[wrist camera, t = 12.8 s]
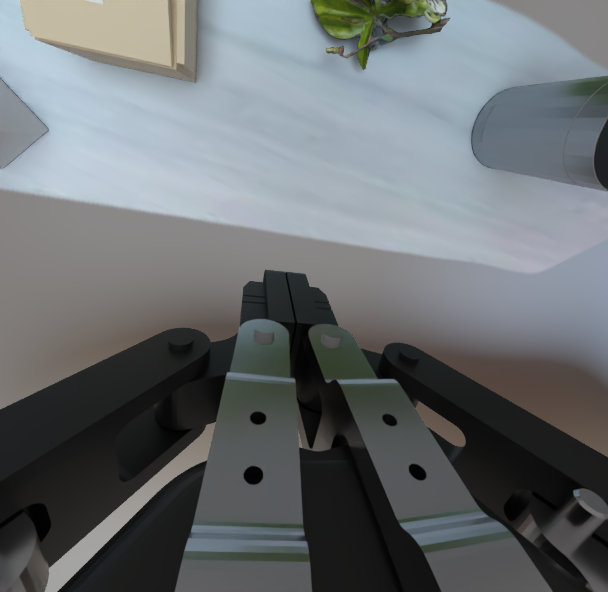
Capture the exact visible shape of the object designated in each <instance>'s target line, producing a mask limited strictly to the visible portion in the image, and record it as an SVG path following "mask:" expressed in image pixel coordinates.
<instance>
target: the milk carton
mask: <svg viewBox="0 0 608 592" xmlns="http://www.w3.org/2000/svg"><path fill="white" fill-rule="evenodd" d="M47 131H48V129H47V128H46V127H45V125H44V124H43V123H42V122H41V121H40V120H39V119H38V118H37V117H36V116H35V115H34V114H33V113H32V112H31V111H30V109H29V108H28V107H27V106H26V105H25V104H24V103H23V102H22V101H21V100H20V99H19V98H18V97H17V96H16V95H15V94H14V93H13V91H12V90H11V89H10V88H9V87H8V86H7V85H6V84H5V83H4V82H3V81H2V80H1V79H0V169H2V168H4V167H5V166H6V165H8V164H9V163H10V162H11V161H12V160H14V159H15V158H16V157H17V156H18V155H20V154H21V153H22V152H23V151H24V150H25V149H27V148H28V147H29V146H30V145H31V144H33V143H34V142H35V141H36V140H37V139H39V138H40V137H41V136H42V135H43V134H45V133H46V132H47Z"/></svg>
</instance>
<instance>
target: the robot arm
mask: <svg viewBox="0 0 608 592" xmlns="http://www.w3.org/2000/svg"><path fill="white" fill-rule="evenodd" d="M472 146H473V151H474V154H475V156H476V157H477V159H478V160H479V161H480V162H481V163H482V164H483V165H485V166H487V167H490V168H495V169H499V170H504V171H509V172H513V173H518V174H523V175H528V176H533V177H538V178H543V179H547V180H552V181H557V182H562V183H567V184H572V185H577V186H582V187H588V188H593V189H598V190H603V191H608V76H603V77H594V78H586V79H578V80H570V81H562V82H554V83H546V84H536V85H528V86H520V87H513V88H509V89H506V90H504V91H502V92H500V93H498V94H497V95H496V96H494V97H493V98H492V99H491V100H490V101H489V102H488V103H487V104H486V105H485V106H484V108H483V109H482V111H481V112H480V114H479V116H478V118H477V120H476V122H475V125H474V129H473V135H472ZM418 401H420V402H421V403H423V404H424V405H426V406H428V407H429V408H430V409H432V410H433V411H435V412H436V413H438V414H439V415H441V416H442V417H444V418H445V419H447V420H448V421H450V422H451V423H453V424H454V425H456V426H457V427H458V428H459V429H460V430H461V431H462V432H463V434H464V436H465V439H466V444H465V446H463V447H458V446H454V445H452V444H451V443H449V442H448V441H446V440H445V439H444V438H442V437H441V436H440V435H438V434H437V433H435V432H434V431H432V430H431V429H430V428H428V427H427V426H426V424H425V423H424V421H423V420H422V418H421V417H420V415H419V413H418V412H417V410H416V409H415V408H416V406H417V404H418ZM214 422H216V424H215V428H214V433H213V437H212V442H211V446H210V451H209V455H208V459H207V461H205V462H202V463H200V464H198V465H196V466H194V467H191V468H190V469H188V470H186V471H185V472H183V473H181V474H180V475H178V476H177V477H175V478H174V479H173V480H172V481H170V482H169V483H168V484H166V485H165V486H164V487H163V488H162V489H161V490H160V491H159V492H157V493H156V495H154V496H153V497H152V498H151V499H150V500H149V501H148V502H147V503H146V504H145V505H144V506H143V508H141V509H140V510H139V511H138V512H137V513H136V514H135V515H134V516H133V517H132V518H131V519H130V520H129V521H128V522H127V523H126V524H125V525H124V526H123V527H122V528H121V529H120V530H119V531H118V532H117V533H116V534H115V535H114V536H113V537H112V538H111V539H110V540H109V541H108V542H107V543H106V544H105V545H104V546H103V547H102V548H101V549H100V550H99V551H98V552H97V553H96V554H95V555H94V556H93V557H92V558H91V559H90V560H89V561H88V562H87V563H86V564H85V565H84V566H83V567H82V568H81V569H80V570H79V571H78V572H77V573H76V574H75V575H74V576H73V577H72V578H71V579H70V580H69V581H68V582H67V583H66V584H65V585H64V586H63V587H62V588H61V589H60V590H59V591H58V592H608V457H606V456H604V455H603V454H601V453H599V452H597V451H596V450H594V449H592V448H590V447H589V446H587V445H585V444H583V443H581V442H580V441H578V440H576V439H575V438H573V437H571V436H570V435H568V434H566V433H564V432H562V431H561V430H559V429H557V428H556V427H554V426H552V425H550V424H549V423H547V422H545V421H543V420H542V419H540V418H538V417H536V416H535V415H533V414H531V413H529V412H528V411H526V410H524V409H522V408H521V407H519V406H517V405H515V404H514V403H512V402H510V401H509V400H507V399H505V398H503V397H502V396H500V395H498V394H496V393H495V392H493V391H491V390H489V389H488V388H486V387H484V386H482V385H481V384H479V383H477V382H475V381H474V380H472V379H470V378H468V377H467V376H465V375H463V374H461V373H459V372H458V371H456V370H454V369H453V368H451V367H449V366H448V365H446V364H444V363H442V362H441V361H439V360H437V359H435V358H434V357H432V356H430V355H428V354H427V353H425V352H423V351H421V350H419V349H418V348H416V347H413V346H411V345H408V344H404V343H391V344H388V345H387V346H385V348H384V351H383V354H379V353H375V352H371V351H367V350H364V349H361V348H360V347H359V345H358V344H357V342H356V340H355V338H354V337H353V335H352V334H351V333H350V332H348V331H347V330H345V329H343V328H341V327H339V326H338V324H337V321H336V319H335V317H334V314H333V311H332V310H331V306H330V304H329V301H328V299H327V297H326V295H325V294H324V293H323V292H322V291H321V290H320V289H319V288H315V287H310V286H309V283H308V280H307V277H306V275H305V274H301V273H292V272H286V273H285V272H282V271H273V270H265V272H264V279H263V282H253V281H250V282H248V283H247V284H246V285H245V286H244V288H243V298H242V308H241V319H240V328H239V331H238V333H237V334H236V335H235V336H233V337H231V338H229V339H226V340H223V341H217V342H210V339H209V338H208V337H207V335H205V334H204V333H203V332H201V331H198V330H195V329H191V328H175V329H170V330H166V331H164V332H162V333H159V334H157V335H155V336H153V337H151V338H149V339H147V340H145V341H143V342H141V343H138V344H136V345H134V346H132V347H130V348H128V349H126V350H124V351H122V352H120V353H118V354H115V355H113V356H111V357H109V358H108V359H105V360H103V361H101V362H99V363H97V364H95V365H93V366H90V367H88V368H86V369H84V370H82V371H80V372H78V373H76V374H74V375H72V376H70V377H68V378H65V379H63V380H61V381H59V382H57V383H55V384H53V385H51V386H49V387H47V388H44V389H42V390H40V391H38V392H36V393H34V394H32V395H30V396H28V397H26V398H24V399H21V400H19V401H17V402H16V403H13V404H11V405H9V406H7V407H5V408H3V409H1V410H0V592H44V591H45V588H46V586H47V582H48V576H49V567H51V566H52V565H53V564H54V563H55V562H56V561H58V560H59V559H60V558H61V557H62V556H63V555H64V554H65V553H67V552H68V551H69V550H70V549H71V548H72V547H74V546H75V545H76V544H77V543H78V542H79V541H80V540H81V539H83V538H84V537H85V536H86V535H87V534H88V533H89V532H91V531H92V530H93V529H94V528H95V527H96V526H97V525H99V524H100V523H101V522H102V521H103V520H104V519H105V518H107V517H108V516H109V515H110V514H111V513H112V512H113V511H114V510H116V509H117V508H118V507H119V506H120V505H121V504H123V503H124V502H125V501H126V500H127V499H128V498H129V497H130V496H132V495H133V494H134V493H135V492H136V491H137V490H138V489H140V488H141V487H142V486H143V485H144V484H145V483H146V482H148V481H149V480H150V479H151V478H152V477H153V476H154V475H156V474H157V473H158V472H159V471H160V470H161V469H162V468H163V467H165V466H166V465H167V464H168V463H169V462H170V461H171V460H173V459H174V458H175V457H176V456H177V455H178V454H179V453H181V452H182V451H183V450H184V449H185V448H186V447H187V446H189V444H191V443H192V442H193V441H194V440H195V439H196V438H198V437H199V436H200V435H201V434H202V432H203V431H204V429H205V427H206V425H207V424H211V423H214ZM298 430H299V434H300V439H301V443H302V447H303V448H299V437H298Z"/></svg>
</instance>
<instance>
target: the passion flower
mask: <svg viewBox="0 0 608 592" xmlns="http://www.w3.org/2000/svg"><path fill="white" fill-rule="evenodd" d="M311 4H312V5H313V8H314V11H315V15H316V17H317V19H318V20H319V21H320V23H321V24H322V26H323V27H324V28H325V30H326V31H327V32H328V34H329V35H331V36H333V37H335V38H339V39H349V38H352V37H357V36H360V37H361V38H360V40H359V42H358V50H357V51H354V52H352V53H350V54H349V55H347V56H343V52H344V46H342V47H339V48H338V47H337V48H334V47H331V48H326V52H327V53H333V54H339V55H340V56H342V57H344V58H348V57H350V56H352V55H354V54H356V53H358V60H359V63H360V65H361V67H362V69H363V70H364V69H365V68H366V64H367V60H368V56H369V52H370V51H372V50H375V49H377V48H379V47H381V46H382V45H384V44H386V43H389V42H392V41H394V40H395V39H397V38H401V37H409V36H413V35H419V34H432V33H435V32H440V31H441V29H442V27H443V26H444V25H446V23H447V22H448V21H449V19H450V18H447V19H446V18H445V19H442V20H441V16H445V15H446V12H447V3H446V0H392V1H390V0H389V2H386V1H385V0H375V3H373V2H372V0H311ZM397 16H406V17H410V18H412V17H418V18H419V17H421V16H425V17H426V19H427V20H428V21H429V22H431V23H432V26H431V27H430V28H428V29H423V30H416V31H409V32H403V33H397V32H395V31H394V30H392V29H390V28H389V27H388V25H387V20H388V19H393V18H394V17H397ZM384 17H385V21H384V22H381V19H382V18H384ZM376 26H380V27H381V28H382V31H383V34H381V35H380V36H378V37H377V36H376V37H374V35H373V31H374V29H375V27H376ZM373 44H374V45H373ZM372 45H373V46H372Z"/></svg>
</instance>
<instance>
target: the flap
mask: <svg viewBox="0 0 608 592" xmlns="http://www.w3.org/2000/svg"><path fill="white" fill-rule="evenodd" d="M21 3H22V6H23V10H24V13H25V17H26V20H27V24H28V27H29V31H30V35H31V36H34V37H38V38H43V39H47V40H52V41H57V42H61V43H66V44H70V45H75V46H80V47H84V48H89V49H93V50H98V51H102V52H107V53H112V54H116V55H121V56H125V57H130V58H134V59H139V60H144V61H148V62H153V63H157V64H162V65H166V66H171V67H172V66H173V65H174V64H173V45H172V26H171V8H170V0H21Z"/></svg>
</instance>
